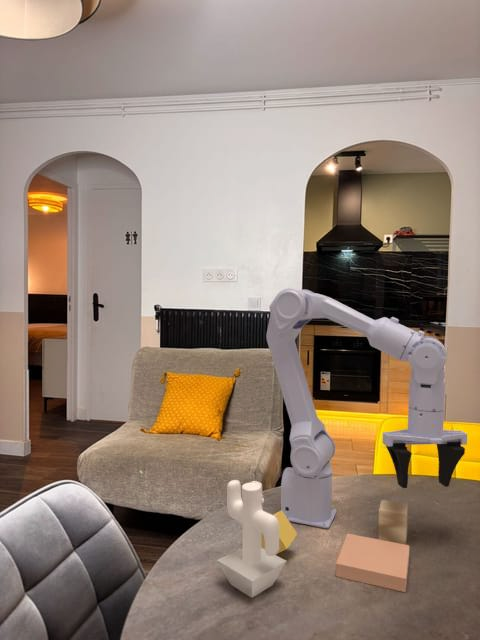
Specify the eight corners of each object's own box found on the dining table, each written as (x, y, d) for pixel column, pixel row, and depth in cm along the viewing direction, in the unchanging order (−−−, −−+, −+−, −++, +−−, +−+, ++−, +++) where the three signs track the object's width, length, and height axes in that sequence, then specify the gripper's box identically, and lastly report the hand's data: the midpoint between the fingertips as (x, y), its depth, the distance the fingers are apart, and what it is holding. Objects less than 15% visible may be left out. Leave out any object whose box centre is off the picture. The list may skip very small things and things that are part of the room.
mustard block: (270, 523, 75) (286, 548, 75) (281, 510, 79) (297, 533, 78) (250, 534, 77) (266, 558, 77) (262, 520, 81) (277, 543, 80)
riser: (335, 576, 72) (336, 563, 72) (347, 544, 81) (347, 533, 81) (405, 592, 68) (405, 578, 68) (409, 557, 77) (409, 545, 77)
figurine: (257, 611, 64) (258, 501, 63) (211, 581, 70) (212, 481, 70) (292, 588, 69) (293, 487, 68) (246, 562, 75) (247, 469, 75)
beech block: (378, 540, 83) (378, 509, 83) (381, 529, 87) (381, 499, 87) (405, 545, 81) (406, 514, 81) (407, 534, 85) (407, 504, 85)
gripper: (396, 414, 77) (393, 496, 78) (479, 412, 79) (476, 493, 79) (378, 404, 84) (376, 479, 85) (455, 403, 86) (452, 477, 86)
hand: (423, 485), depth 82 cm, fingers open, 7 cm apart
